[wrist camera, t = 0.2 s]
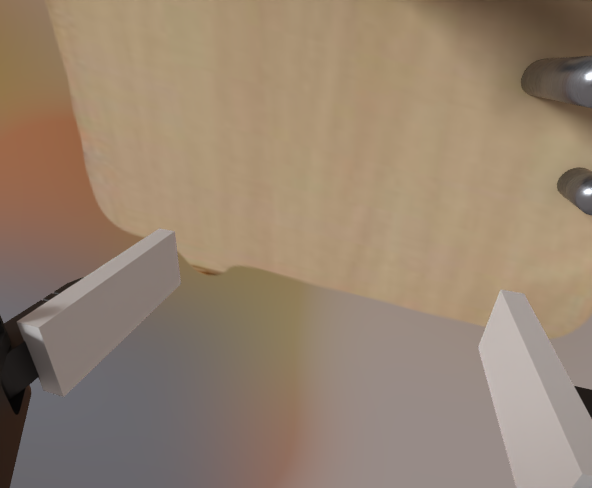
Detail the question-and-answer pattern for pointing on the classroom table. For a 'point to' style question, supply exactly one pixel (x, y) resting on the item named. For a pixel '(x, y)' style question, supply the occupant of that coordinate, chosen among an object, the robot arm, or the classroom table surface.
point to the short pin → (577, 188)
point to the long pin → (560, 80)
